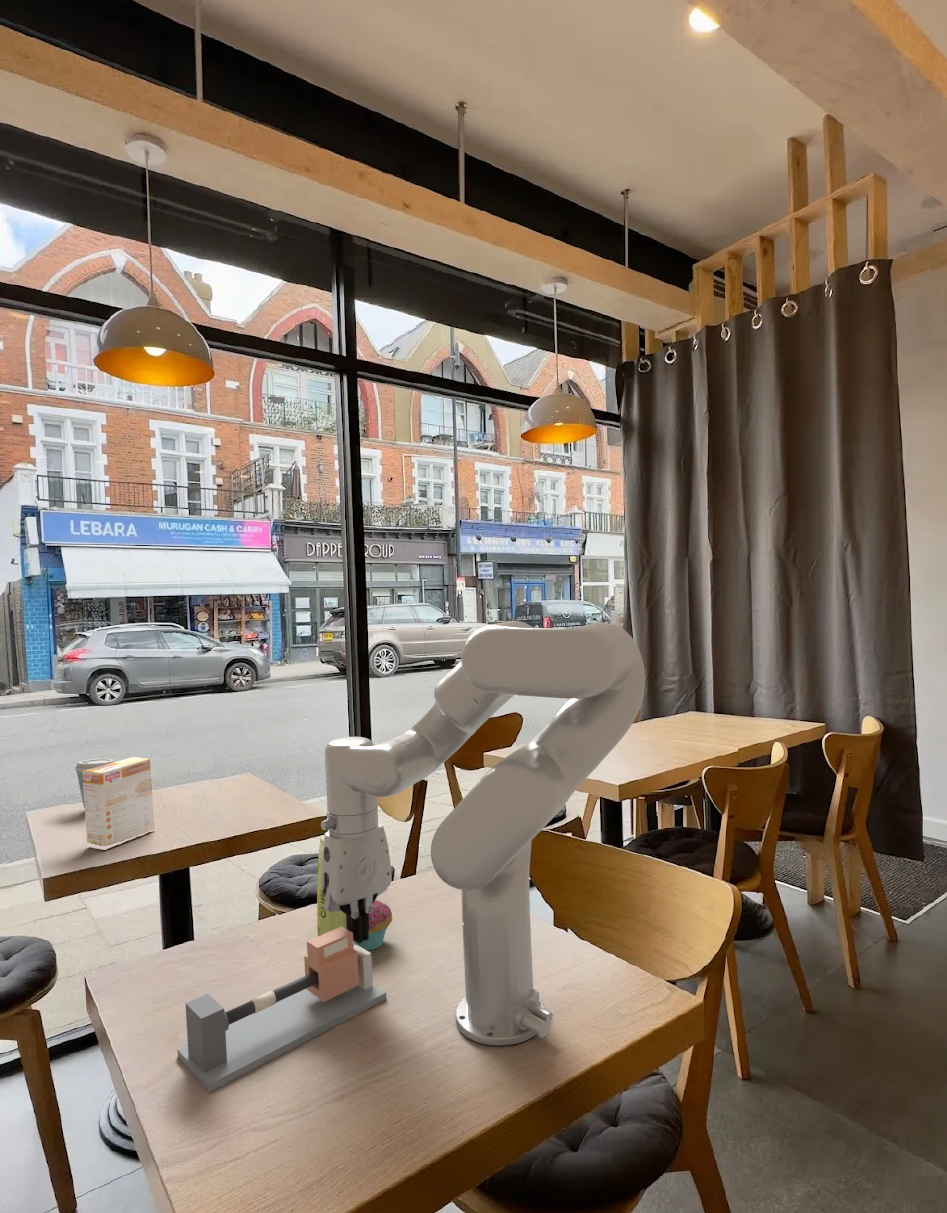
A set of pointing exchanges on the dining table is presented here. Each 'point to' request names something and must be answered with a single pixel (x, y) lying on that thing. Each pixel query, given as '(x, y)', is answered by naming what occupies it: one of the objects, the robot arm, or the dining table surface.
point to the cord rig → (267, 1025)
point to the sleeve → (332, 963)
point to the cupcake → (376, 925)
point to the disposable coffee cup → (86, 766)
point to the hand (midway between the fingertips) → (358, 938)
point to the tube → (324, 918)
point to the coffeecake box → (118, 801)
